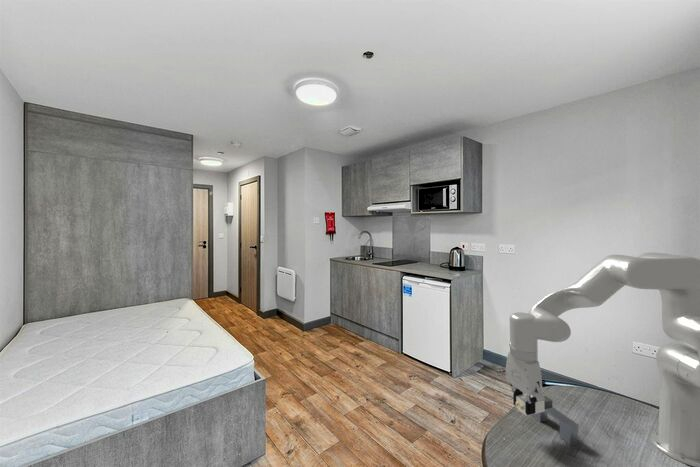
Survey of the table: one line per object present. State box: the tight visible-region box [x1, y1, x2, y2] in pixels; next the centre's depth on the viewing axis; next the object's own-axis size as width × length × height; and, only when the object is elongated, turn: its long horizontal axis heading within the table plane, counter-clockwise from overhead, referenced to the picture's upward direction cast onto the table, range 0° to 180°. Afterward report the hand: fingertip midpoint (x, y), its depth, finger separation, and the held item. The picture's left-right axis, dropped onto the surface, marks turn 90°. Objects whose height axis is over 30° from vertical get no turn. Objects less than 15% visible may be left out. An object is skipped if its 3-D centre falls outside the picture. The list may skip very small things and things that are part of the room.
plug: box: [515, 393, 554, 417], centre depth 92 cm, size 12×4×4 cm, turn 103°
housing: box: [531, 407, 579, 446], centre depth 94 cm, size 3×14×6 cm, turn 13°
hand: (524, 408), depth 91 cm, fingers closed on plug, 4 cm apart
